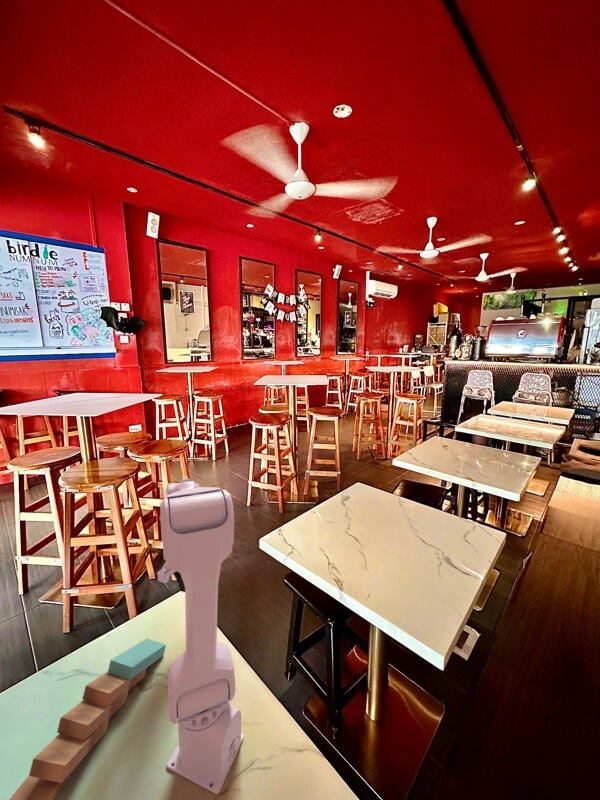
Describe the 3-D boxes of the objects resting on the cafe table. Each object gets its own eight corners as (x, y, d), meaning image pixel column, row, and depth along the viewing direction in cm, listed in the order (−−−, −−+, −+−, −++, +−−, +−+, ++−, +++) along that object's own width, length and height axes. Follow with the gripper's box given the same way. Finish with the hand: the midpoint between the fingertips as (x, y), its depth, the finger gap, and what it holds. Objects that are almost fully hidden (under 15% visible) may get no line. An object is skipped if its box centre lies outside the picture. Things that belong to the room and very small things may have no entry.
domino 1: (165, 644, 71) (132, 667, 61) (163, 655, 70) (129, 680, 61) (146, 638, 72) (110, 659, 63) (144, 648, 72) (107, 672, 62)
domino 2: (147, 665, 66) (109, 693, 57) (144, 677, 66) (106, 707, 56) (125, 659, 67) (85, 685, 58) (123, 670, 67) (82, 699, 57)
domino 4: (109, 717, 57) (65, 765, 47) (106, 731, 56) (61, 783, 47) (82, 711, 57) (33, 758, 48) (79, 725, 57) (29, 775, 47)
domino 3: (128, 689, 61) (88, 725, 52) (126, 702, 61) (84, 740, 51) (105, 683, 62) (60, 717, 53) (102, 695, 62) (56, 732, 52)
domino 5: (83, 748, 53) (18, 838, 43) (84, 758, 53) (20, 849, 43) (57, 739, 54) (-12, 825, 44) (58, 749, 54) (-10, 837, 44)
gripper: (190, 515, 81) (191, 566, 83) (144, 549, 67) (147, 608, 69) (215, 521, 78) (215, 573, 81) (173, 557, 65) (175, 618, 67)
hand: (186, 590), depth 75 cm, fingers closed
